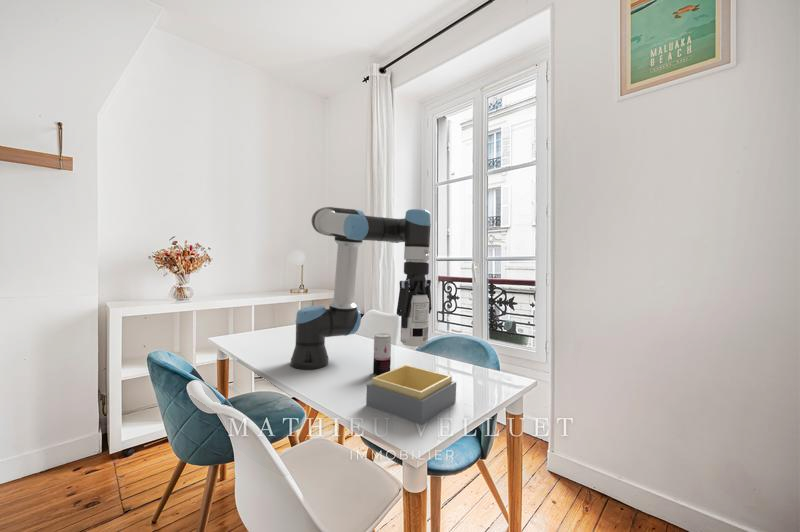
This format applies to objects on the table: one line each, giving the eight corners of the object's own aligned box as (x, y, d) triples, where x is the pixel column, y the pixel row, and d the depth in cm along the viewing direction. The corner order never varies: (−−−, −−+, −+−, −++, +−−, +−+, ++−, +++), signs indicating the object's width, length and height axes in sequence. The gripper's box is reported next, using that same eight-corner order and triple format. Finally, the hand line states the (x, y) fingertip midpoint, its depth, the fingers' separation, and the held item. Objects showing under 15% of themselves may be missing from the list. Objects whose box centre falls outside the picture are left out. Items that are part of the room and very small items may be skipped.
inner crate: (371, 404, 106) (372, 378, 106) (404, 388, 120) (405, 364, 120) (420, 421, 96) (421, 392, 96) (450, 401, 110) (451, 376, 110)
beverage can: (389, 371, 141) (390, 333, 140) (390, 376, 134) (392, 337, 134) (372, 371, 140) (373, 333, 139) (373, 376, 133) (374, 337, 133)
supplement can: (397, 345, 105) (399, 295, 104) (404, 339, 113) (405, 292, 112) (424, 348, 103) (426, 296, 102) (429, 341, 111) (431, 293, 110)
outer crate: (366, 407, 106) (366, 384, 106) (404, 388, 122) (404, 368, 122) (421, 427, 94) (422, 401, 94) (455, 404, 110) (456, 381, 110)
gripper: (406, 261, 96) (404, 344, 97) (444, 262, 113) (442, 332, 114) (385, 260, 101) (382, 340, 101) (424, 261, 118) (422, 329, 118)
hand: (414, 336), depth 108 cm, fingers closed on supplement can, 8 cm apart
